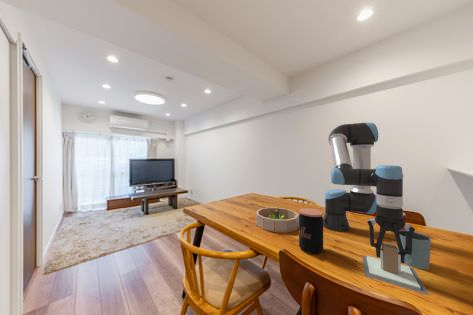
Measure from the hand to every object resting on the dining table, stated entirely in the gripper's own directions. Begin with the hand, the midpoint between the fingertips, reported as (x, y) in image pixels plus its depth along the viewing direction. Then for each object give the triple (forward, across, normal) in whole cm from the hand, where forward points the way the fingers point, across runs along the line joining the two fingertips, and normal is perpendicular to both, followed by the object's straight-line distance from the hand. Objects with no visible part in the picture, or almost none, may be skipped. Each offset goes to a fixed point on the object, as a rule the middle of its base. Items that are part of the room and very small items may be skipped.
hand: (389, 268), depth 64 cm
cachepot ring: (+2, -53, +24) cm, 58 cm away
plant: (+3, -52, +23) cm, 57 cm away
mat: (+2, 0, 0) cm, 2 cm away
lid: (+1, 0, 0) cm, 1 cm away
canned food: (+2, +11, +53) cm, 54 cm away
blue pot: (+2, +9, +13) cm, 16 cm away
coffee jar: (+2, -28, +2) cm, 28 cm away
